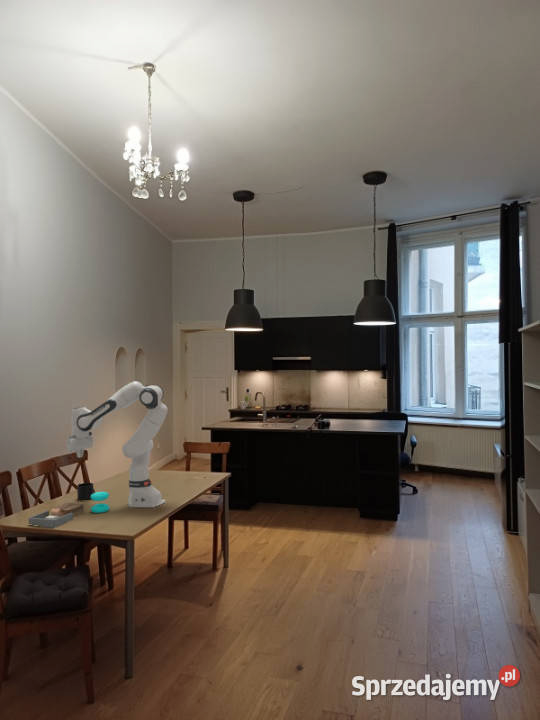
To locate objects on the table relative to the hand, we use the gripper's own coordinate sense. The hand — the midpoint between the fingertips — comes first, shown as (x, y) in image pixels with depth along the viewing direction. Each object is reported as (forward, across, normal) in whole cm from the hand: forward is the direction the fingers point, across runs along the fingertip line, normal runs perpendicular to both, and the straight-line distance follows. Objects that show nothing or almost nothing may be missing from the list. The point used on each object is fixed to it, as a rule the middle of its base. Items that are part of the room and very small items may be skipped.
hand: (80, 457), depth 312 cm
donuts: (+28, -10, -21) cm, 36 cm away
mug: (+28, +11, +4) cm, 31 cm away
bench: (+28, -22, -8) cm, 36 cm away
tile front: (+25, -34, -8) cm, 43 cm away
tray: (+28, -35, -8) cm, 45 cm away
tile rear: (+24, -29, -8) cm, 39 cm away
